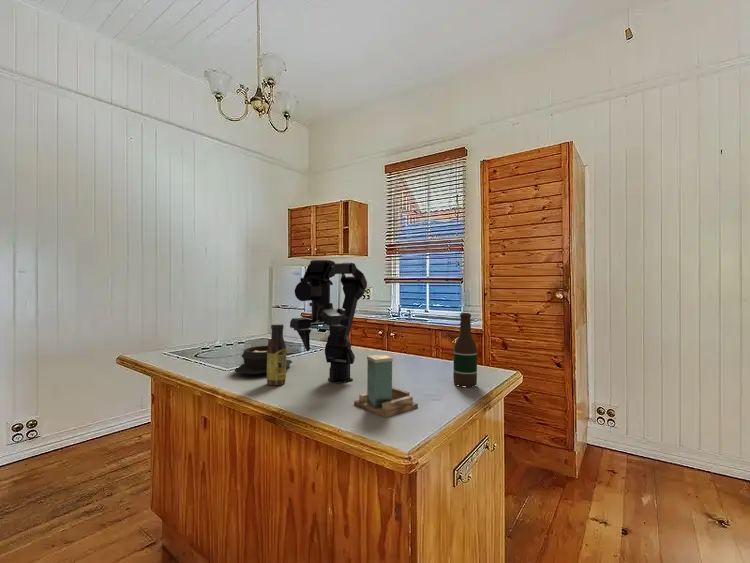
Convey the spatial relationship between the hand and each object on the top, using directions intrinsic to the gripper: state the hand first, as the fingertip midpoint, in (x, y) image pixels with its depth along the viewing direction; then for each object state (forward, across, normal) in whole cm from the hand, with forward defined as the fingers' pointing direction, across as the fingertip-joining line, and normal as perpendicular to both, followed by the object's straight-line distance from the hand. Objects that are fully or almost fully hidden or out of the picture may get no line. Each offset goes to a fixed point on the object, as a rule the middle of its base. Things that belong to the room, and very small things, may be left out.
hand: (320, 349), depth 120 cm
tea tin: (+12, +3, -24) cm, 27 cm away
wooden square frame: (+13, +6, -24) cm, 28 cm away
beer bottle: (+13, +41, -25) cm, 50 cm away
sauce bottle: (+13, -7, +16) cm, 22 cm away
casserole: (+13, -2, +36) cm, 38 cm away
